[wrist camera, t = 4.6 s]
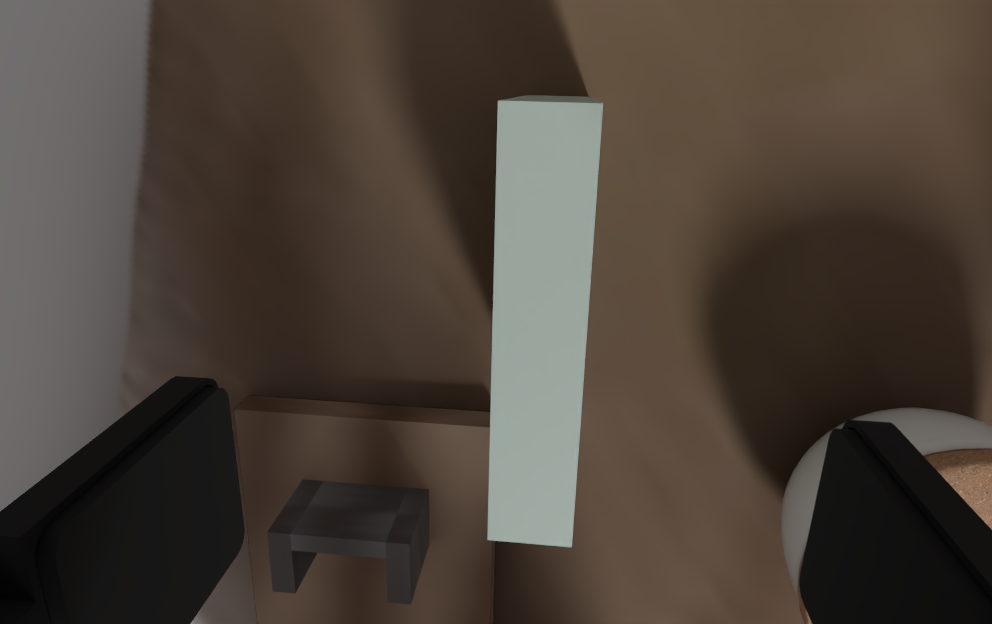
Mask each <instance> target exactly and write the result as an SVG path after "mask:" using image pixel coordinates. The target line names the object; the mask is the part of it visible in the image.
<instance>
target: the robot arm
mask: <svg viewBox="0 0 992 624" xmlns="http://www.w3.org/2000/svg"><path fill="white" fill-rule="evenodd" d="M243 539H244V521H243V512H242V504H241V496H240V488H239V480H238V472H237V464H236V456H235V447H234V439H233V431H232V423H231V415H230V407H229V399H228V394H227V392H226V390H225V389H223V388H218V385H217V383H216V381H214V380H213V379H210V378H194V377H179V376H176V377H174V378H172V379H170V380H169V381H168V382H166V383H165V384H164V385H163V386H161V387H160V388H159V389H157V390H156V391H155V392H154V393H152V394H151V395H150V396H148V397H147V398H146V399H145V400H143V401H142V402H141V403H139V404H138V405H137V406H136V407H134V408H133V409H132V410H130V411H129V412H128V413H127V414H125V415H124V416H123V417H121V418H120V419H119V420H118V421H116V422H115V423H114V424H112V425H111V426H110V427H109V428H107V429H106V430H105V431H103V432H102V433H101V434H100V435H98V436H97V437H96V438H94V439H93V440H92V441H91V442H89V443H88V444H87V445H85V446H84V447H83V448H82V449H80V450H79V451H78V452H76V453H75V454H74V455H73V456H71V457H70V458H69V459H67V460H66V461H65V462H64V463H62V464H61V465H60V466H58V467H57V468H56V469H55V470H53V471H52V472H51V473H49V474H48V475H47V476H46V477H44V478H43V479H42V480H40V481H39V482H38V483H36V484H35V485H34V486H33V487H31V488H30V489H29V490H28V491H26V492H25V493H24V494H22V495H21V496H20V497H18V498H17V499H16V500H15V501H13V502H12V503H11V504H9V505H8V506H7V507H6V508H4V509H3V510H2V511H1V512H0V624H190V623H191V622H192V620H193V619H194V617H195V616H196V615H197V613H198V612H199V610H200V609H201V607H202V606H203V604H204V603H205V601H206V600H207V598H208V597H209V595H210V594H211V593H212V591H213V590H214V588H215V587H216V585H217V584H218V582H219V581H220V579H221V578H222V576H223V575H224V573H225V572H226V571H227V569H228V568H229V566H230V565H231V563H232V562H233V560H234V559H235V557H236V556H237V554H238V553H239V551H240V549H241V546H242V543H243ZM799 586H800V594H801V598H802V601H803V604H804V606H805V608H806V611H807V613H808V615H809V617H810V620H811V622H812V624H992V530H991V529H990V527H989V526H988V525H987V524H986V523H985V522H984V521H983V520H982V519H981V518H980V517H979V516H978V514H977V513H976V512H975V511H974V510H973V509H972V508H971V507H970V506H969V505H968V504H967V503H966V502H965V500H964V499H963V498H962V497H961V496H960V495H959V494H958V493H957V492H956V491H955V490H954V489H953V487H952V486H951V485H950V484H949V483H948V482H947V481H946V480H945V479H944V478H943V477H942V476H941V474H940V473H939V472H938V471H937V470H936V469H935V468H934V467H933V466H932V465H931V464H930V463H929V462H928V460H927V459H926V458H925V457H924V456H923V455H922V454H921V453H920V452H919V451H918V450H917V449H916V447H915V446H914V445H913V444H912V443H911V442H910V441H909V440H908V439H907V438H906V437H905V436H904V435H903V433H902V432H901V431H900V430H899V429H898V428H897V427H896V426H895V425H894V424H892V423H891V422H876V421H861V420H848V421H847V422H845V424H844V425H843V427H842V429H836V428H835V429H834V430H832V432H831V433H830V436H829V440H828V444H827V449H826V454H825V459H824V463H823V468H822V473H821V477H820V482H819V487H818V491H817V496H816V501H815V506H814V510H813V515H812V520H811V524H810V529H809V534H808V539H807V543H806V548H805V553H804V557H803V562H802V567H801V572H800V578H799Z"/></svg>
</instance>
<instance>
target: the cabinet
mask: <svg viewBox="0 0 992 624" xmlns="http://www.w3.org/2000/svg"><path fill="white" fill-rule="evenodd" d="M234 413H235V422H236V431H237V440H238V450H239V459H240V468H241V477H242V486H243V496H244V505H245V514H246V523H247V533H248V542H249V551H250V560H251V569H252V579H253V588H254V597H255V606H256V615H257V624H493V597H494V562H495V541H492V540H487V536H488V494H489V452H490V412H484V411H469V410H454V409H440V408H425V407H410V406H396V405H381V404H366V403H352V402H337V401H322V400H308V399H293V398H278V397H264V396H248V397H247V398H246V399H245V400H244V401H243V402H241V403H240V404H239V405H238V406H237V407H236V408H235V409H234Z"/></svg>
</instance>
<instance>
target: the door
mask: <svg viewBox="0 0 992 624" xmlns="http://www.w3.org/2000/svg"><path fill="white" fill-rule="evenodd" d="M602 112H603V103H601V102H599V101H597V100H595V99H593V98H591V97H584V96H547V95H525V96H520V97H514V98H509V99H504V100H498V115H497V157H496V199H495V241H494V283H493V326H492V368H491V410H490V452H489V494H488V536H487V540H492V541H504V542H516V543H527V544H539V545H551V546H563V547H572V537H573V523H574V509H575V494H576V480H577V466H578V452H579V438H580V424H581V409H582V395H583V381H584V367H585V353H586V339H587V324H588V310H589V296H590V282H591V268H592V254H593V240H594V225H595V211H596V197H597V183H598V169H599V155H600V140H601V126H602Z"/></svg>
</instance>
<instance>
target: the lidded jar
mask: <svg viewBox="0 0 992 624" xmlns="http://www.w3.org/2000/svg"><path fill="white" fill-rule="evenodd" d="M851 420H861V421H876V422H891V423H892V424H894V425H895V426H896V427H897V428H898V429H899V430H900V431H901V432H902V433H903V435H904V436H905V437H906V438H907V439H908V440H909V441H910V442H911V443H912V444H913V445H914V446H915V447H916V449H917V450H918V451H919V452H920V453H921V454H922V455H923V456H924V457H925V458H926V459H927V460H928V462H929V463H930V464H931V465H932V466H933V467H934V468H935V469H936V470H937V471H938V472H939V473H940V474H941V476H942V477H943V478H944V479H945V480H946V481H947V482H948V483H949V484H950V485H951V486H952V487H953V489H954V490H955V491H956V492H957V493H958V494H959V495H960V496H961V497H962V498H963V499H964V500H965V502H966V503H967V504H968V505H969V506H970V507H971V508H972V509H973V510H974V511H975V512H976V513H977V514H978V516H979V517H980V518H981V519H982V520H983V521H984V522H985V523H986V524H987V525H988V526H989V527H990V529H991V530H992V426H990V425H988V424H986V423H983V422H981V421H978V420H975V419H973V418H970V417H967V416H964V415H960V414H956V413H952V412H948V411H942V410H935V409H926V408H895V409H889V410H882V411H876V412H872V413H869V414H865V415H862V416H858V417H856V418H853V419H851ZM844 424H845V422H844V423H842V424H840V425H839V426H837V427H835V428H836V429H842V427H843V425H844ZM835 428H834V429H835ZM834 429H832V430H834ZM832 430H831V431H829V432H827V433H826V434H825V435H824V436H822V437H821V438H820V439H819V440H817V441H816V442H815V443H814V444H813V445H812V446H811V447H810V449H809V450H808V451H807V452H806V453H805V454H804V455H803V457H802V458H801V460H800V461H799V463H798V464H797V466H796V467H795V469H794V470H793V472H792V474H791V477H790V479H789V481H788V483H787V486H786V490H785V493H784V497H783V502H782V507H781V517H780V531H781V542H782V549H783V556H784V560H785V564H786V568H787V572H788V575H789V578H790V581H791V584H792V587H793V590H794V592H795V595H796V597H797V600H798V603H799V607H800V611H801V614H802V617H803V620H804V623H805V624H812V622H811V620H810V617H809V615H808V613H807V611H806V608H805V606H804V604H803V601H802V598H801V594H800V586H799V578H800V572H801V567H802V562H803V557H804V553H805V548H806V543H807V539H808V534H809V529H810V524H811V520H812V515H813V510H814V506H815V501H816V496H817V491H818V487H819V482H820V477H821V473H822V468H823V463H824V459H825V454H826V449H827V444H828V440H829V436H830V433H831V432H832Z"/></svg>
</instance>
